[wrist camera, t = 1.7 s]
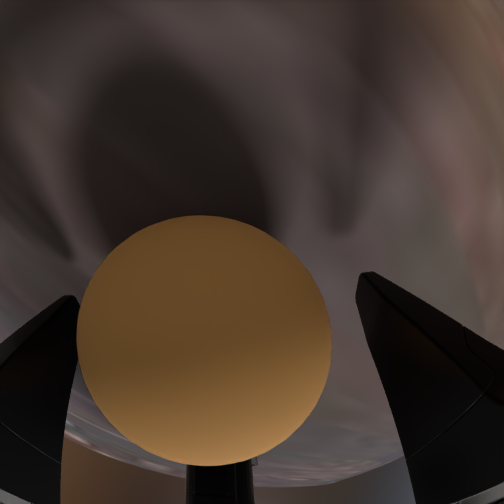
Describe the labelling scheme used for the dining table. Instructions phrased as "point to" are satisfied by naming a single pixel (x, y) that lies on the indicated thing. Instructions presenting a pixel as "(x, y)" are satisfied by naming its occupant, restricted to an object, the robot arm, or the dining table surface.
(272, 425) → the ball
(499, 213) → the dining table surface
